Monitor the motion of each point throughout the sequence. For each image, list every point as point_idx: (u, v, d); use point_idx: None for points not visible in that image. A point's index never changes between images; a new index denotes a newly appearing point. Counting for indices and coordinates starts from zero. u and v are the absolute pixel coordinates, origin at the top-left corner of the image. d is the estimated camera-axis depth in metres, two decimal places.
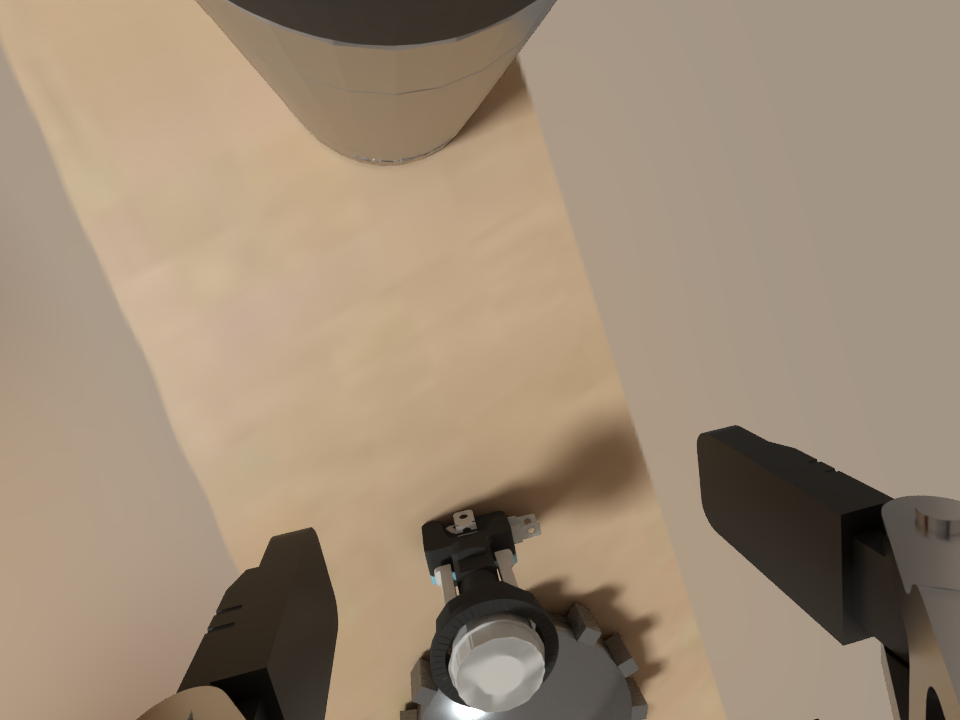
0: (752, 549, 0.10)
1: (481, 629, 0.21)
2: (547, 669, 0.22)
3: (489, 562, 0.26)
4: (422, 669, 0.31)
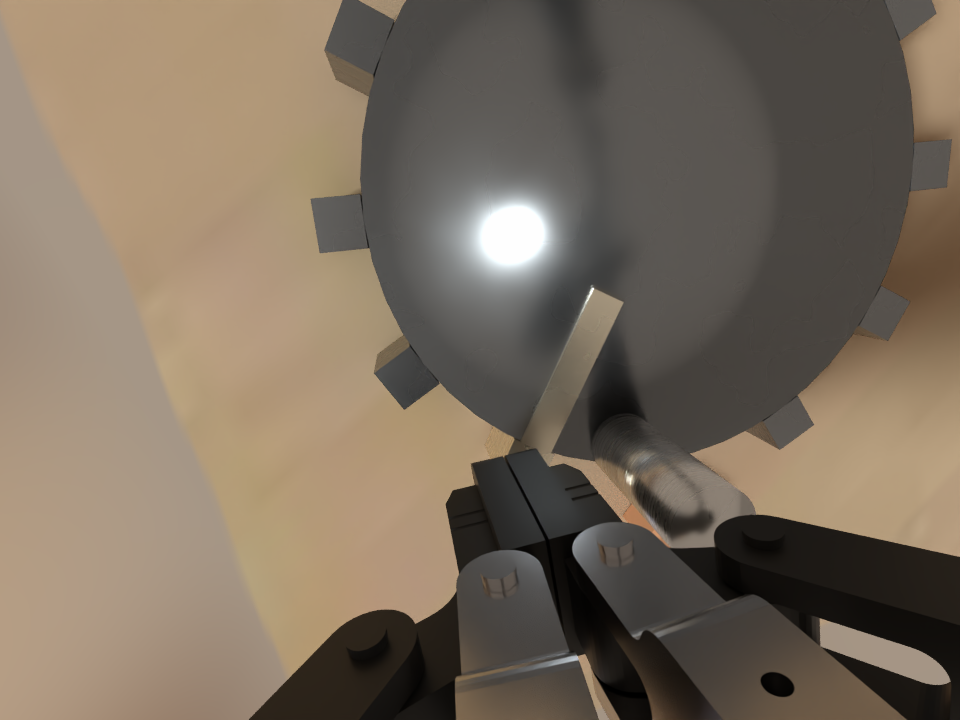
0: None
1: None
2: None
3: None
4: None
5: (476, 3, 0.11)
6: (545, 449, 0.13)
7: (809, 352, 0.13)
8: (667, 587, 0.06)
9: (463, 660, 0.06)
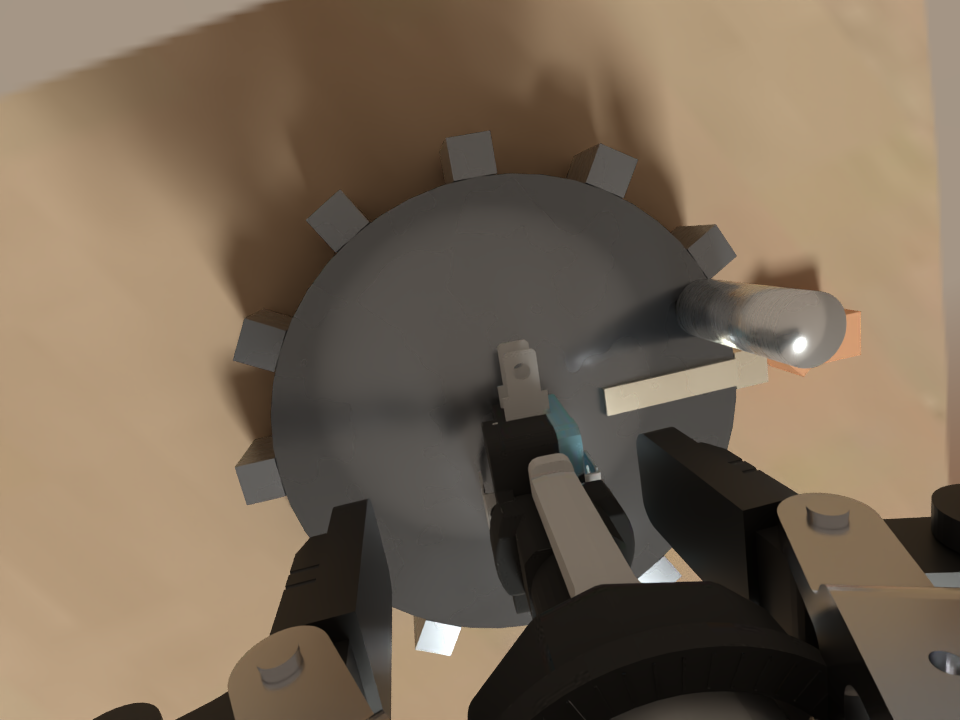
0: (681, 544, 0.10)
1: None
2: (800, 674, 0.06)
3: (522, 557, 0.10)
4: None
5: (496, 595, 0.16)
6: (734, 364, 0.15)
7: (546, 203, 0.13)
8: (872, 564, 0.06)
9: None
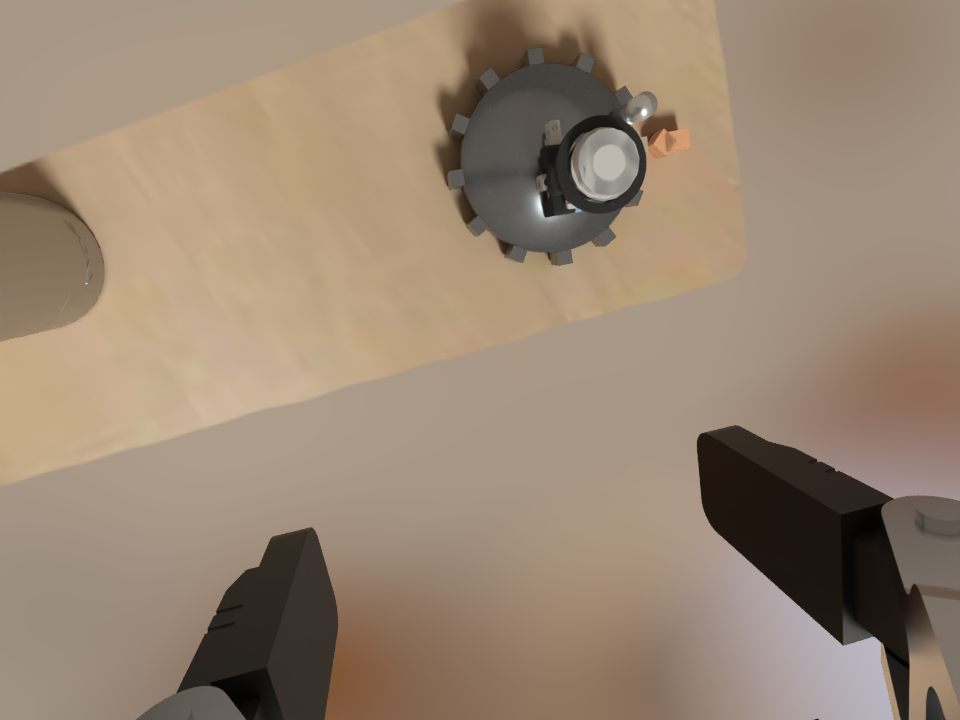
0: (752, 549, 0.10)
1: (576, 175, 0.30)
2: (622, 124, 0.30)
3: None
4: (554, 263, 0.41)
5: (541, 237, 0.40)
6: None
7: (562, 74, 0.37)
8: None
9: None
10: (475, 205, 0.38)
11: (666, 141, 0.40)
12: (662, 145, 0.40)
